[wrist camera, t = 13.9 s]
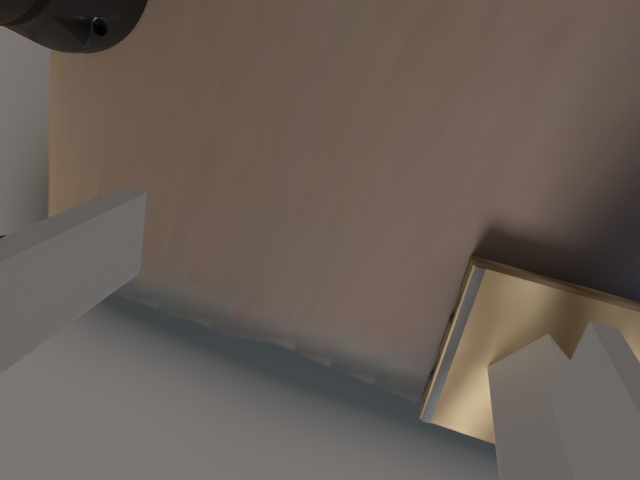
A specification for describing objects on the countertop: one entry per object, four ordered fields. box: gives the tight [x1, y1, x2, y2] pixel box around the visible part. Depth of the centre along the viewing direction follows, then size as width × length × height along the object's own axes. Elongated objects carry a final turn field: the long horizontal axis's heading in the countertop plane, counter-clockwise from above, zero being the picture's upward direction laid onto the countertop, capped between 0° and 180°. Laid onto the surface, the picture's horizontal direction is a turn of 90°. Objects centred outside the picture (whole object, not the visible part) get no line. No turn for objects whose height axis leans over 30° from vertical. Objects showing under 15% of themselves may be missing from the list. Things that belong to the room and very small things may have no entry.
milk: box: [487, 334, 575, 480], centre depth 34 cm, size 6×6×22 cm
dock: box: [420, 255, 640, 444], centre depth 45 cm, size 16×16×3 cm
